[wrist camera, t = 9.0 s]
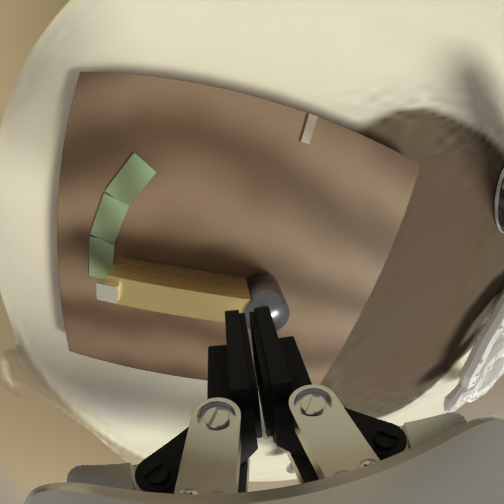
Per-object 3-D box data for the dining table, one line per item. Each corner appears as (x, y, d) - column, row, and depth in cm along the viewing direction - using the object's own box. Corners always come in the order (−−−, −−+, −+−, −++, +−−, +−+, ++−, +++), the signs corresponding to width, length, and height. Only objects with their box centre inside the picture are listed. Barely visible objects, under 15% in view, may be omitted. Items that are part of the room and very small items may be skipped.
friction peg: (284, 276, 20) (296, 302, 17) (273, 309, 22) (282, 338, 18) (113, 247, 18) (95, 270, 15) (112, 283, 19) (97, 310, 16)
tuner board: (313, 373, 29) (318, 387, 27) (75, 338, 23) (68, 352, 21) (406, 161, 20) (421, 165, 18) (91, 76, 14) (79, 71, 13)
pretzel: (504, 244, 29) (534, 257, 23) (529, 278, 36) (549, 289, 30) (422, 399, 34) (444, 422, 28) (471, 389, 41) (487, 404, 35)
